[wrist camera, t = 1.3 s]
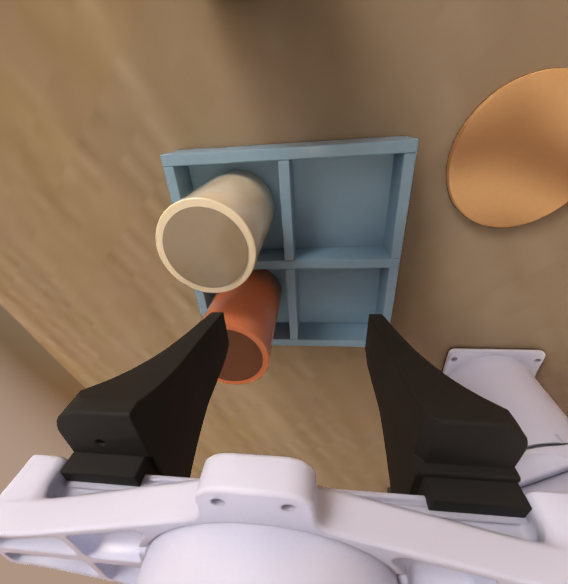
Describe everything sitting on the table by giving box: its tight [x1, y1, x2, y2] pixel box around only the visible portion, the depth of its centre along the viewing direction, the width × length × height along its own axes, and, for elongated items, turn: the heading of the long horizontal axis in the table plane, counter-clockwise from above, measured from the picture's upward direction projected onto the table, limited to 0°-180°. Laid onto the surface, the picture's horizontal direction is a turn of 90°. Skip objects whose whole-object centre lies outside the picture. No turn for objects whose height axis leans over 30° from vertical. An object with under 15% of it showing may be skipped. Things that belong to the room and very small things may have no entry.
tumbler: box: [201, 269, 282, 384], centre depth 22 cm, size 5×5×8 cm
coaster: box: [446, 68, 568, 227], centre depth 18 cm, size 9×9×1 cm
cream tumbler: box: [156, 170, 275, 293], centre depth 18 cm, size 5×5×8 cm
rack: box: [160, 136, 419, 347], centre depth 22 cm, size 15×15×3 cm
